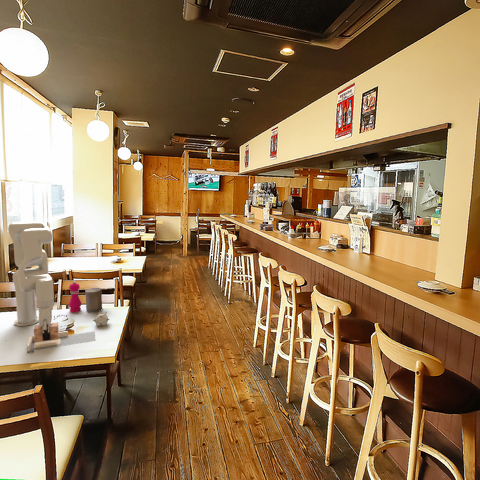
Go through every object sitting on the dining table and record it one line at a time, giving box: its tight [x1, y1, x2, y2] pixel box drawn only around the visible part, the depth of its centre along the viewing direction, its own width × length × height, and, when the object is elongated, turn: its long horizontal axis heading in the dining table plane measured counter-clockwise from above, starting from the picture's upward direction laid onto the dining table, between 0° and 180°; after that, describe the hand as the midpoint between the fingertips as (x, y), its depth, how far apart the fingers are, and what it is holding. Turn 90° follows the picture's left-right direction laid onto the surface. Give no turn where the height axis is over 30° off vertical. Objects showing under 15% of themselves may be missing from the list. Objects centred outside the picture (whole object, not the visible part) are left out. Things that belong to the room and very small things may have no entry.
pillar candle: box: [84, 287, 103, 313], centre depth 212 cm, size 10×10×15 cm
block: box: [33, 322, 60, 343], centre depth 162 cm, size 10×5×7 cm, turn 116°
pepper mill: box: [68, 280, 82, 314], centre depth 208 cm, size 7×7×20 cm
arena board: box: [26, 330, 97, 354], centre depth 167 cm, size 12×30×4 cm, turn 116°
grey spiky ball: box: [92, 311, 111, 327], centre depth 187 cm, size 9×8×10 cm
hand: (47, 337), depth 163 cm, fingers closed on block, 4 cm apart
